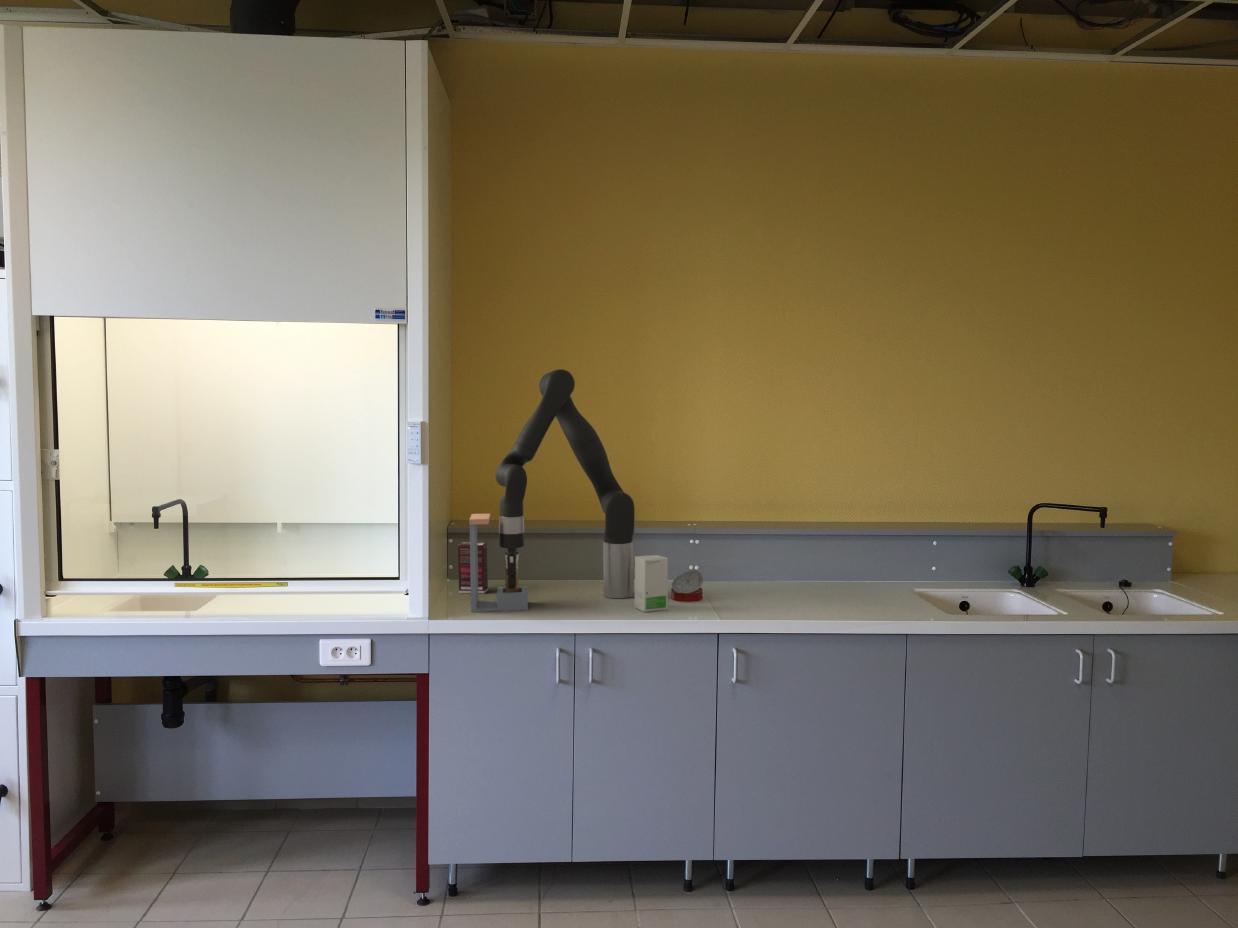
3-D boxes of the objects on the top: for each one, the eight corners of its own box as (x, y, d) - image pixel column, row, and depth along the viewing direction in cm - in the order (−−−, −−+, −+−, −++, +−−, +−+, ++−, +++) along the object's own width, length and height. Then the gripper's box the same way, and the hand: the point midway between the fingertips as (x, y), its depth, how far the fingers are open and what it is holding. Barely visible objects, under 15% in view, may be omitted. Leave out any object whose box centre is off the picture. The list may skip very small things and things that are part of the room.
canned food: (703, 613, 256) (712, 589, 252) (673, 613, 253) (683, 588, 248) (691, 590, 265) (700, 565, 261) (662, 589, 262) (671, 564, 257)
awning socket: (527, 601, 253) (526, 512, 251) (527, 610, 242) (526, 518, 240) (473, 602, 251) (471, 513, 249) (470, 612, 240) (469, 519, 238)
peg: (519, 604, 249) (518, 565, 248) (519, 607, 245) (518, 568, 244) (505, 604, 249) (505, 565, 248) (505, 608, 245) (505, 568, 244)
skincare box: (644, 612, 240) (644, 560, 239) (633, 607, 246) (633, 556, 244) (668, 609, 244) (668, 557, 242) (657, 604, 250) (657, 553, 248)
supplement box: (488, 590, 268) (487, 542, 266) (484, 593, 263) (483, 544, 261) (462, 589, 268) (461, 541, 267) (458, 593, 264) (457, 544, 262)
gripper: (524, 534, 238) (524, 591, 240) (524, 526, 253) (525, 580, 254) (498, 535, 238) (498, 591, 239) (499, 527, 252) (500, 580, 253)
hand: (512, 585), depth 247 cm, fingers open, 6 cm apart
